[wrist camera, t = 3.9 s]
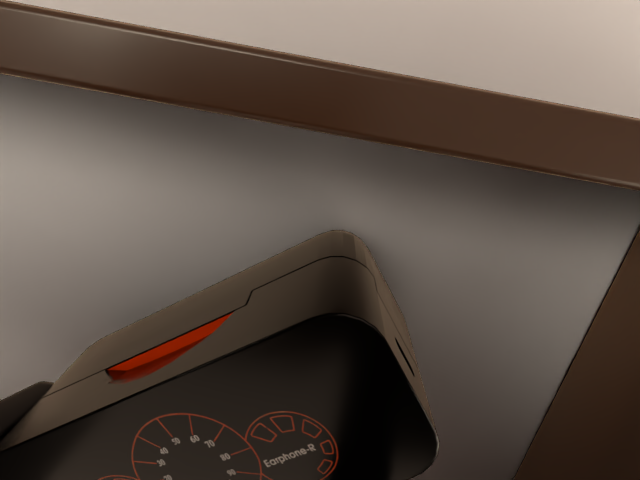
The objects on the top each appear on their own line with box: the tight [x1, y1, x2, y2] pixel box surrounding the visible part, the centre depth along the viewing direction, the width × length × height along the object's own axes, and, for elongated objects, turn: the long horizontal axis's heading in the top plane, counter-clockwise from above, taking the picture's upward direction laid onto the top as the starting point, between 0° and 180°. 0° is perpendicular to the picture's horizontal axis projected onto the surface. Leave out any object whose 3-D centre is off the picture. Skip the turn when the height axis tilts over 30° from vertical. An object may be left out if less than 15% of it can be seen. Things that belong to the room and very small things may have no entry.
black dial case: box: [0, 230, 439, 480], centre depth 7 cm, size 5×7×3 cm, turn 118°
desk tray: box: [0, 0, 640, 480], centre depth 7 cm, size 13×16×4 cm
